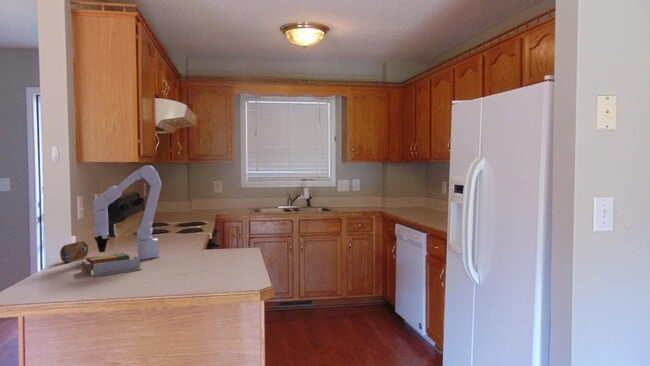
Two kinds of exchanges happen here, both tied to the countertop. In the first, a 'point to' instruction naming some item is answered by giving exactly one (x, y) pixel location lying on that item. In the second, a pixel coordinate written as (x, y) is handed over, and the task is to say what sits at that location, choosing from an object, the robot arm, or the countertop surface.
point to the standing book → (86, 267)
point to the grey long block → (116, 267)
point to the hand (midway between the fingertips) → (101, 251)
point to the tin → (74, 251)
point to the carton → (107, 258)
